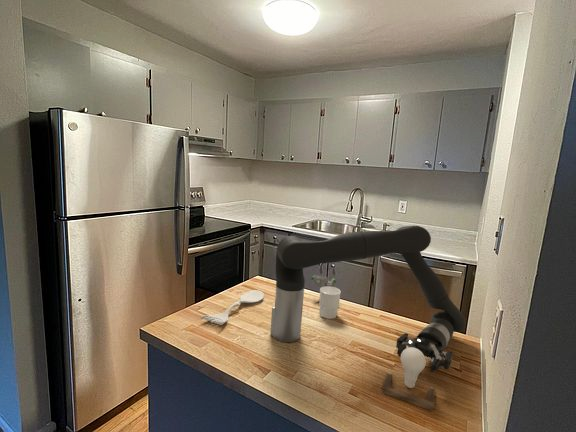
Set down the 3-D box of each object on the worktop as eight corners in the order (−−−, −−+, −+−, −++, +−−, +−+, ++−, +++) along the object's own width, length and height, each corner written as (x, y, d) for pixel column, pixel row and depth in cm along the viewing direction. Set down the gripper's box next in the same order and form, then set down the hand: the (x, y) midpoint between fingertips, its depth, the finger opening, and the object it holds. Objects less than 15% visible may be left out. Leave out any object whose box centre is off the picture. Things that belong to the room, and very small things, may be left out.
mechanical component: (333, 302, 131) (335, 280, 130) (309, 298, 133) (311, 276, 132) (333, 299, 134) (336, 277, 133) (310, 296, 136) (312, 274, 135)
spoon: (199, 324, 107) (199, 315, 106) (249, 293, 135) (250, 286, 135) (220, 332, 103) (220, 322, 102) (267, 298, 132) (268, 290, 131)
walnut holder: (382, 392, 80) (382, 388, 79) (386, 376, 86) (386, 372, 86) (433, 411, 74) (433, 406, 74) (433, 393, 81) (434, 389, 81)
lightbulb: (420, 383, 84) (426, 345, 83) (422, 398, 79) (428, 358, 77) (396, 376, 86) (401, 340, 84) (396, 391, 80) (402, 352, 79)
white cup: (341, 314, 121) (343, 290, 120) (333, 321, 115) (335, 296, 113) (323, 308, 125) (325, 284, 124) (314, 315, 119) (316, 290, 117)
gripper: (411, 318, 99) (391, 337, 87) (461, 336, 90) (445, 360, 78) (408, 340, 101) (388, 361, 88) (457, 360, 91) (441, 387, 79)
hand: (415, 360), depth 83 cm, fingers open, 8 cm apart
